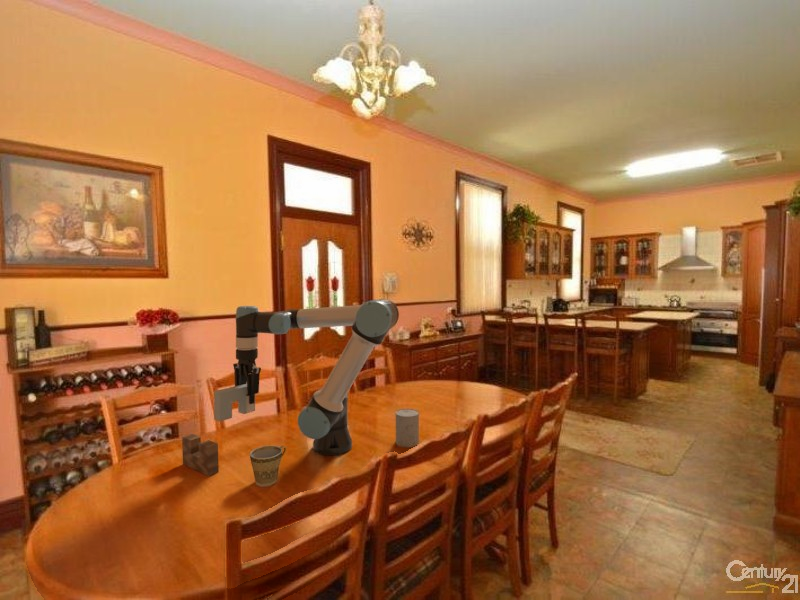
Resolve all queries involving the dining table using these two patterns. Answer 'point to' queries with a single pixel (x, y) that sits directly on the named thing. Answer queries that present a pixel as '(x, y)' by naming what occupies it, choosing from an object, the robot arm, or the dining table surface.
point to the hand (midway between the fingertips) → (246, 410)
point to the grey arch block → (229, 401)
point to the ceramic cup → (266, 464)
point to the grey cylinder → (407, 427)
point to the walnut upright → (200, 454)
